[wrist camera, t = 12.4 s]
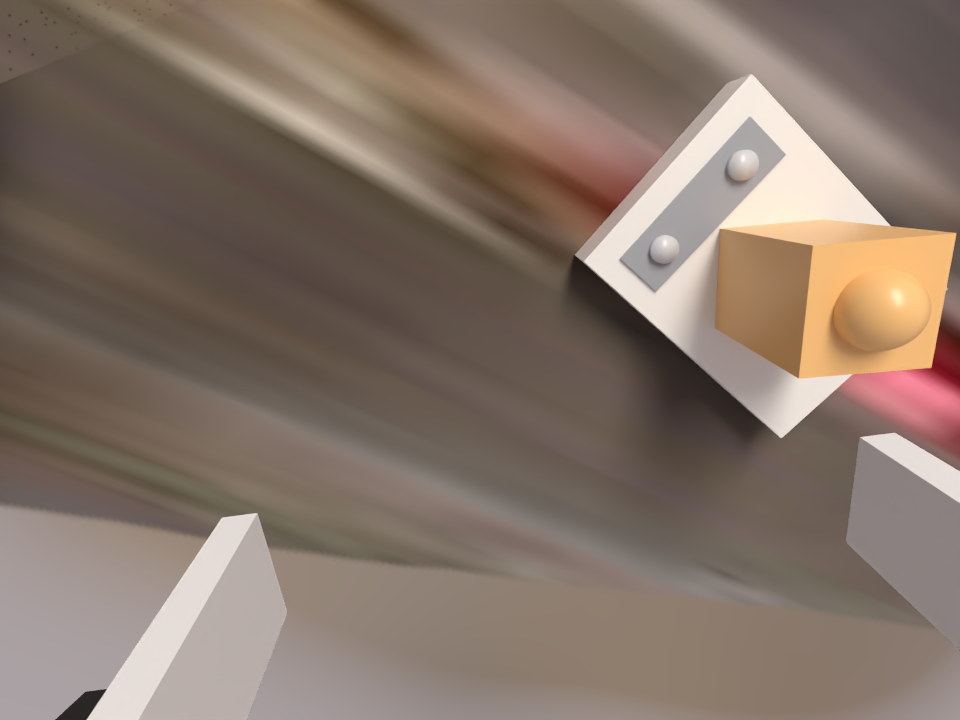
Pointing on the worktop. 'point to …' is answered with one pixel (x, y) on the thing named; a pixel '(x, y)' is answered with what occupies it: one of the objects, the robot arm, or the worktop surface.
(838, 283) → the orange cube with dome
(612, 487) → the worktop surface
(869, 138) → the worktop surface
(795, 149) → the block
